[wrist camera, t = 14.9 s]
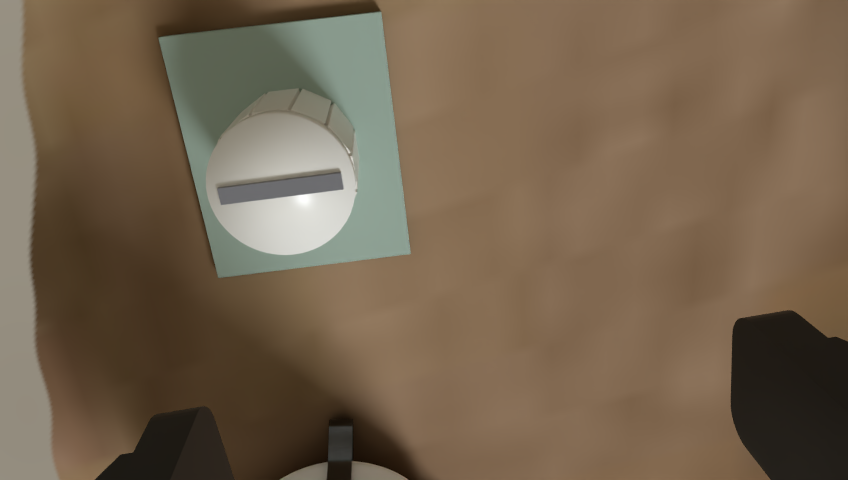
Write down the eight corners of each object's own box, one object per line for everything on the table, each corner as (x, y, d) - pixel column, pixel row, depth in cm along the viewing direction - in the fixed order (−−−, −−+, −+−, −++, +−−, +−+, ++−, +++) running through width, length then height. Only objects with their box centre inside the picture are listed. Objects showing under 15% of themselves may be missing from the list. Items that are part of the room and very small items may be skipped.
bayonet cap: (347, 81, 31) (343, 106, 26) (365, 202, 34) (365, 247, 28) (219, 97, 31) (188, 125, 26) (246, 217, 33) (223, 265, 28)
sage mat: (410, 249, 35) (410, 254, 35) (220, 273, 35) (218, 277, 34) (380, 11, 31) (381, 12, 30) (162, 36, 30) (158, 37, 30)
